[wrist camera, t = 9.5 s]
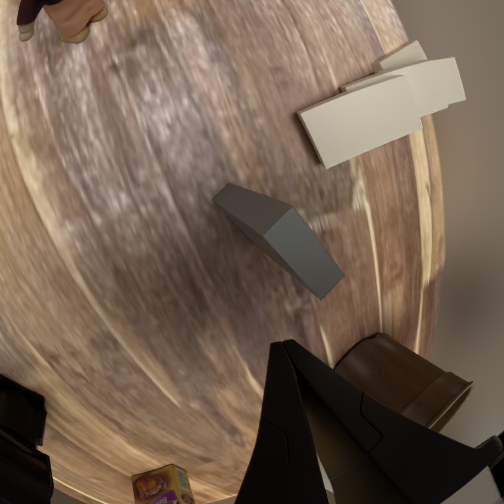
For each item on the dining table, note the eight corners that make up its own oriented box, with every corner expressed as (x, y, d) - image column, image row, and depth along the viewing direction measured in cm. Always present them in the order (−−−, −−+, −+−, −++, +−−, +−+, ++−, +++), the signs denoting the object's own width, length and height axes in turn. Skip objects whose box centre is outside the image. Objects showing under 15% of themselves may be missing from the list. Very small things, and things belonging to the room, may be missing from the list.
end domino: (253, 242, 22) (321, 300, 14) (211, 199, 20) (262, 236, 11) (268, 227, 22) (344, 275, 14) (229, 183, 20) (293, 205, 11)
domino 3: (397, 119, 21) (466, 99, 18) (380, 72, 18) (454, 57, 16) (389, 116, 23) (456, 97, 20) (373, 71, 20) (445, 56, 17)
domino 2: (401, 104, 22) (434, 74, 22) (379, 62, 19) (417, 40, 19) (389, 105, 23) (424, 75, 23) (367, 65, 21) (406, 42, 21)
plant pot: (412, 333, 38) (479, 385, 24) (354, 406, 40) (407, 465, 25) (368, 305, 30) (468, 380, 16) (292, 401, 32) (356, 492, 18)
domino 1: (326, 169, 21) (423, 128, 18) (300, 113, 18) (405, 75, 16) (321, 163, 22) (412, 124, 20) (296, 112, 20) (394, 75, 17)
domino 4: (367, 137, 21) (448, 107, 18) (345, 87, 19) (432, 60, 15) (360, 133, 22) (438, 104, 19) (339, 86, 20) (423, 59, 17)
